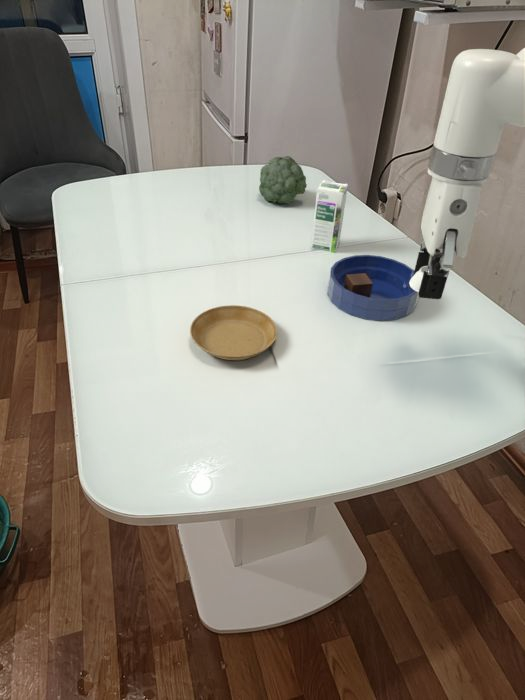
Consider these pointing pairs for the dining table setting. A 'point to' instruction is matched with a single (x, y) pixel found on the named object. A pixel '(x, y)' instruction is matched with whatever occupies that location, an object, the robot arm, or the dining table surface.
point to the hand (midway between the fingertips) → (426, 285)
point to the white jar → (417, 279)
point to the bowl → (374, 288)
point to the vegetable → (281, 180)
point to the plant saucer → (233, 332)
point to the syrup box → (328, 216)
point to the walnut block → (359, 284)
